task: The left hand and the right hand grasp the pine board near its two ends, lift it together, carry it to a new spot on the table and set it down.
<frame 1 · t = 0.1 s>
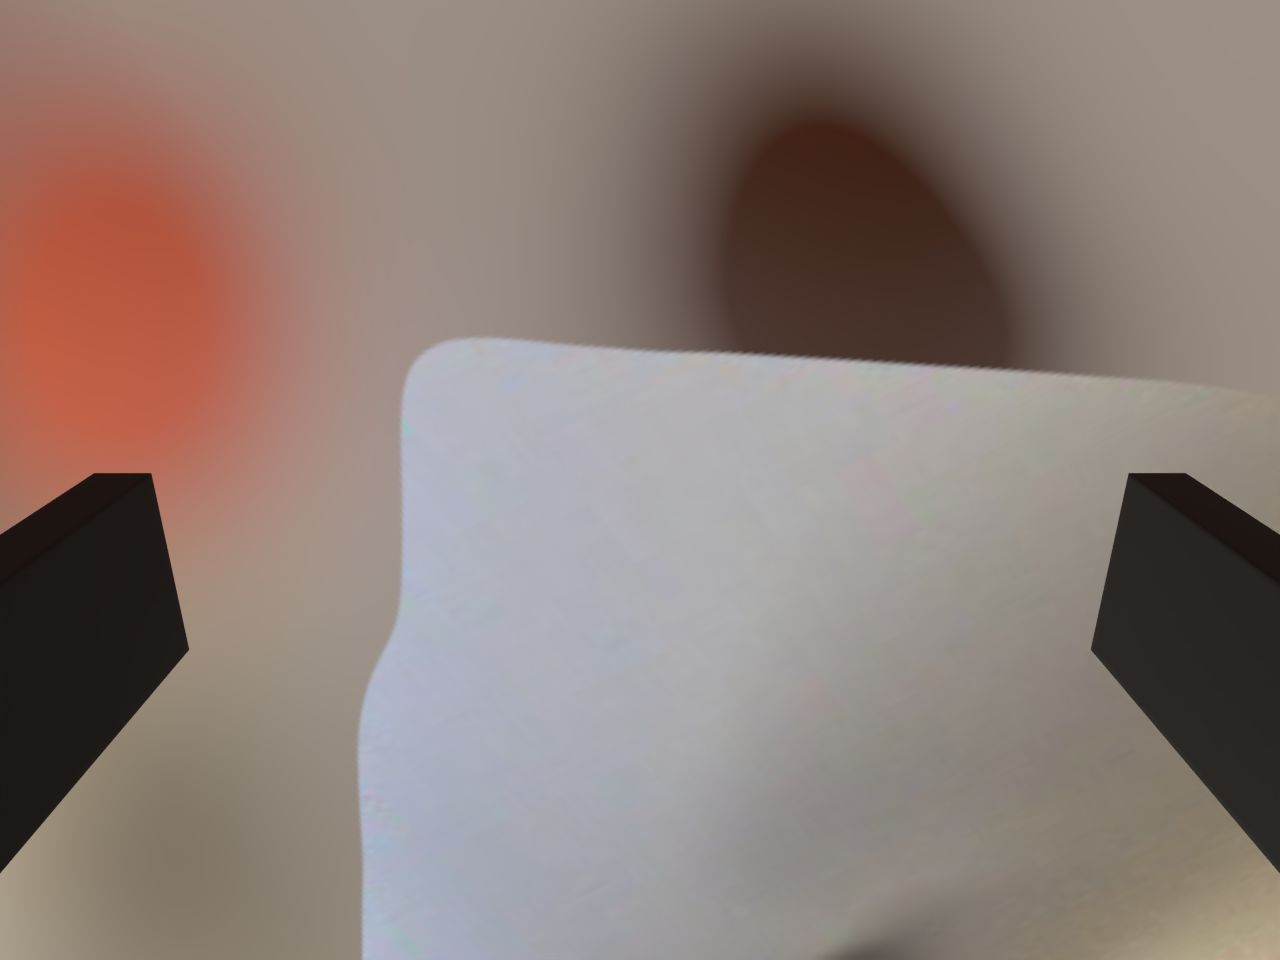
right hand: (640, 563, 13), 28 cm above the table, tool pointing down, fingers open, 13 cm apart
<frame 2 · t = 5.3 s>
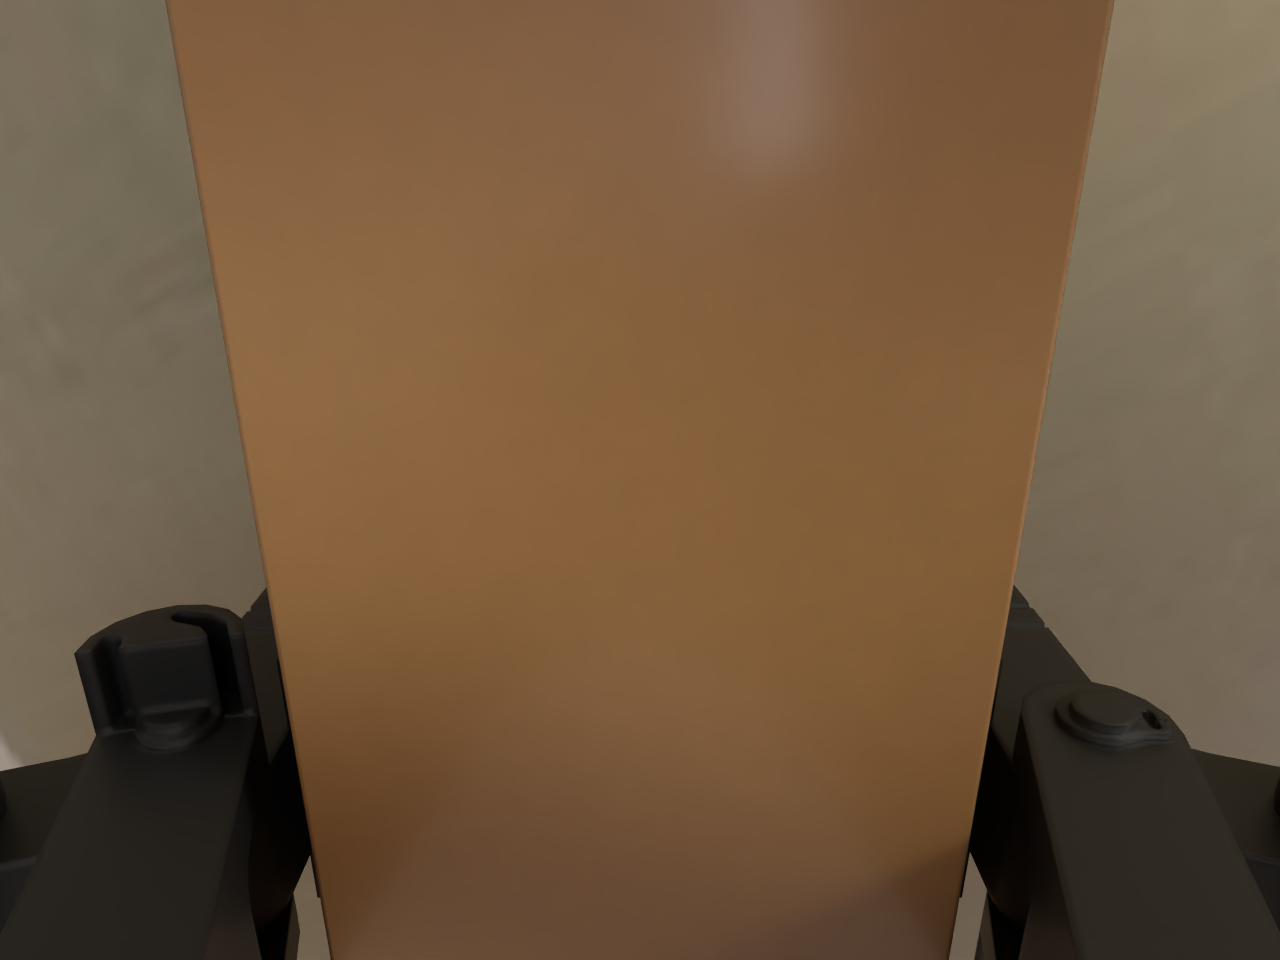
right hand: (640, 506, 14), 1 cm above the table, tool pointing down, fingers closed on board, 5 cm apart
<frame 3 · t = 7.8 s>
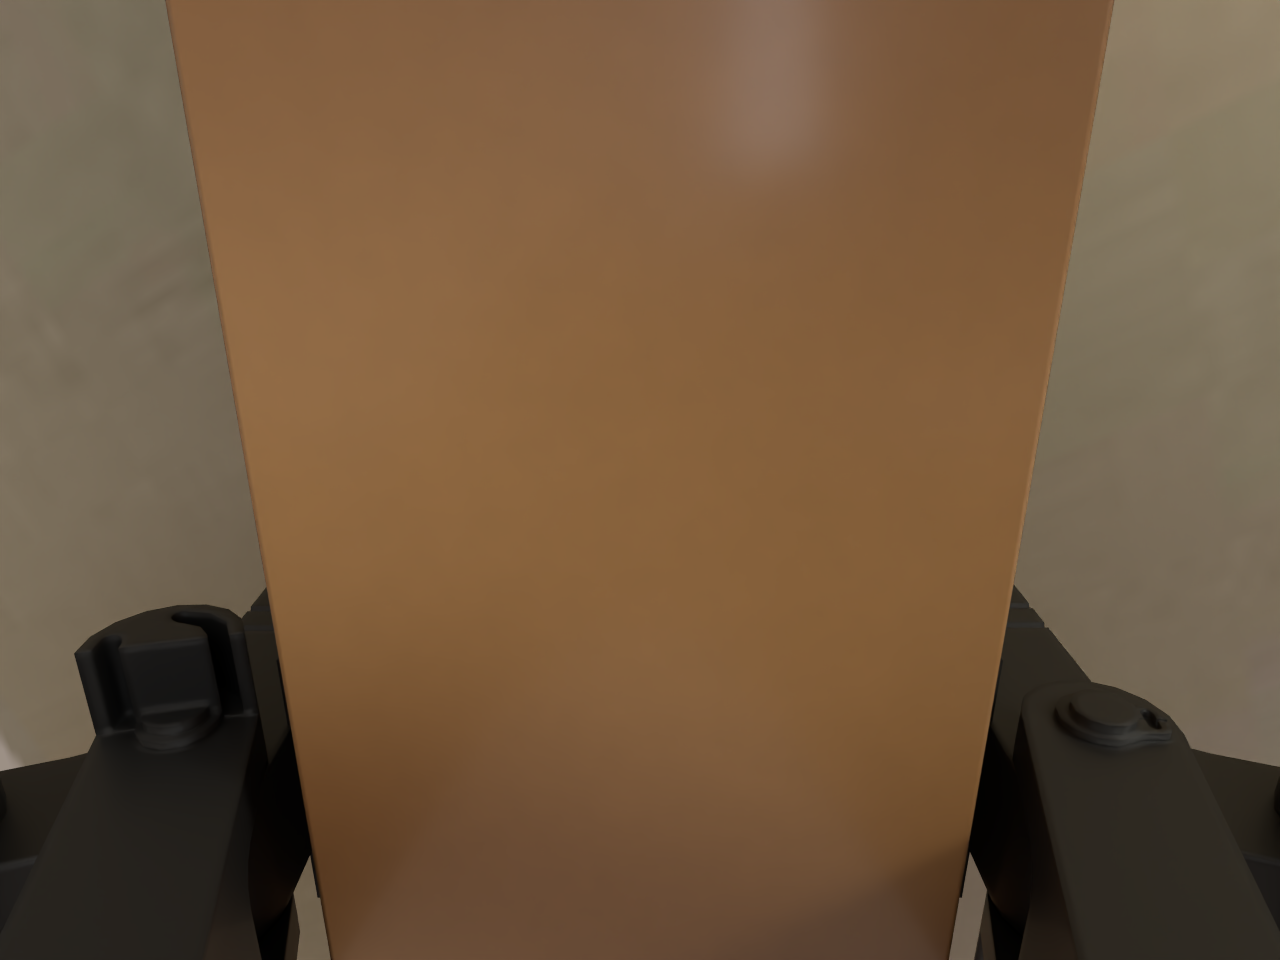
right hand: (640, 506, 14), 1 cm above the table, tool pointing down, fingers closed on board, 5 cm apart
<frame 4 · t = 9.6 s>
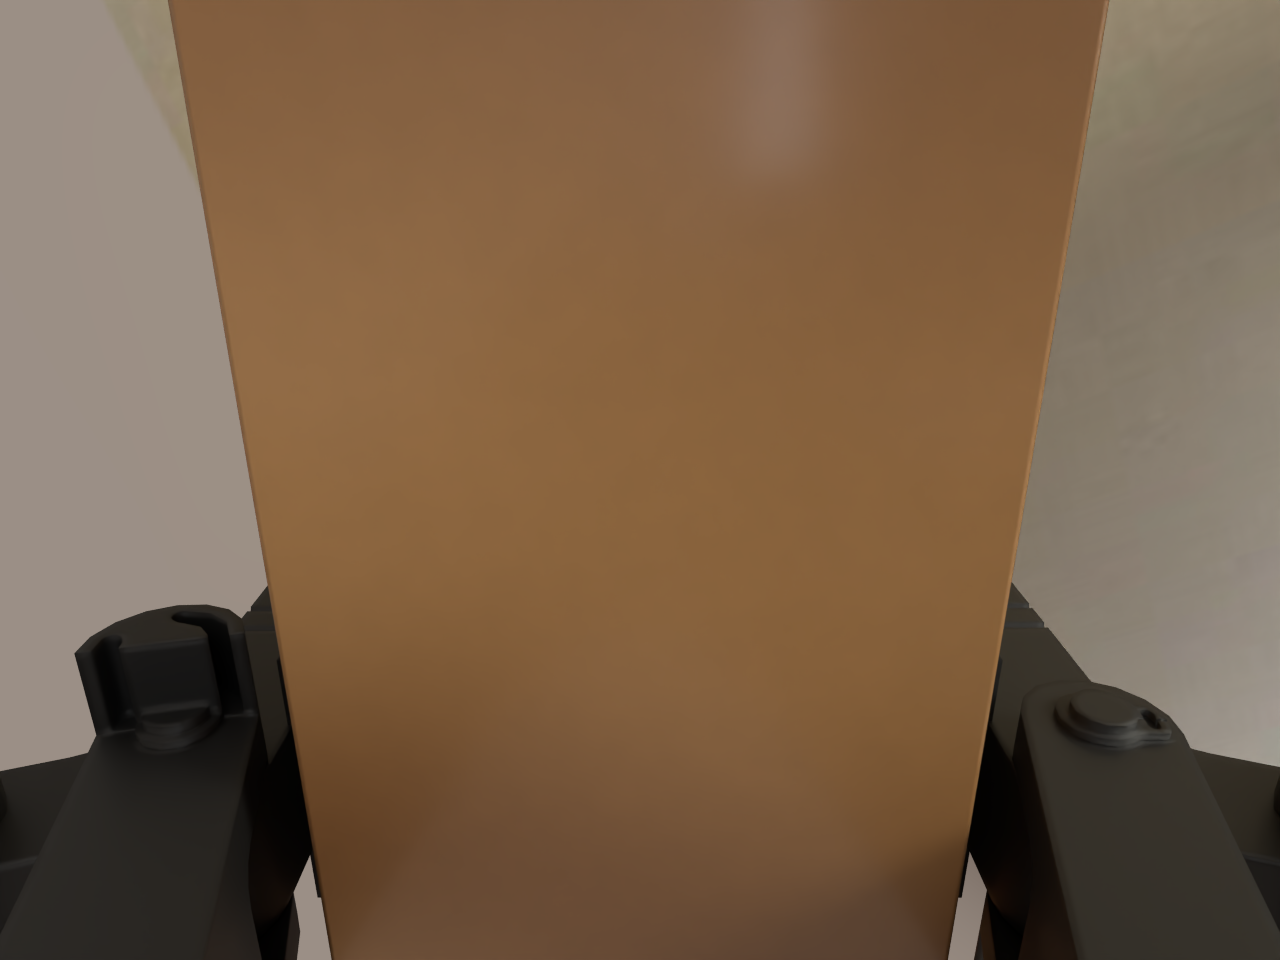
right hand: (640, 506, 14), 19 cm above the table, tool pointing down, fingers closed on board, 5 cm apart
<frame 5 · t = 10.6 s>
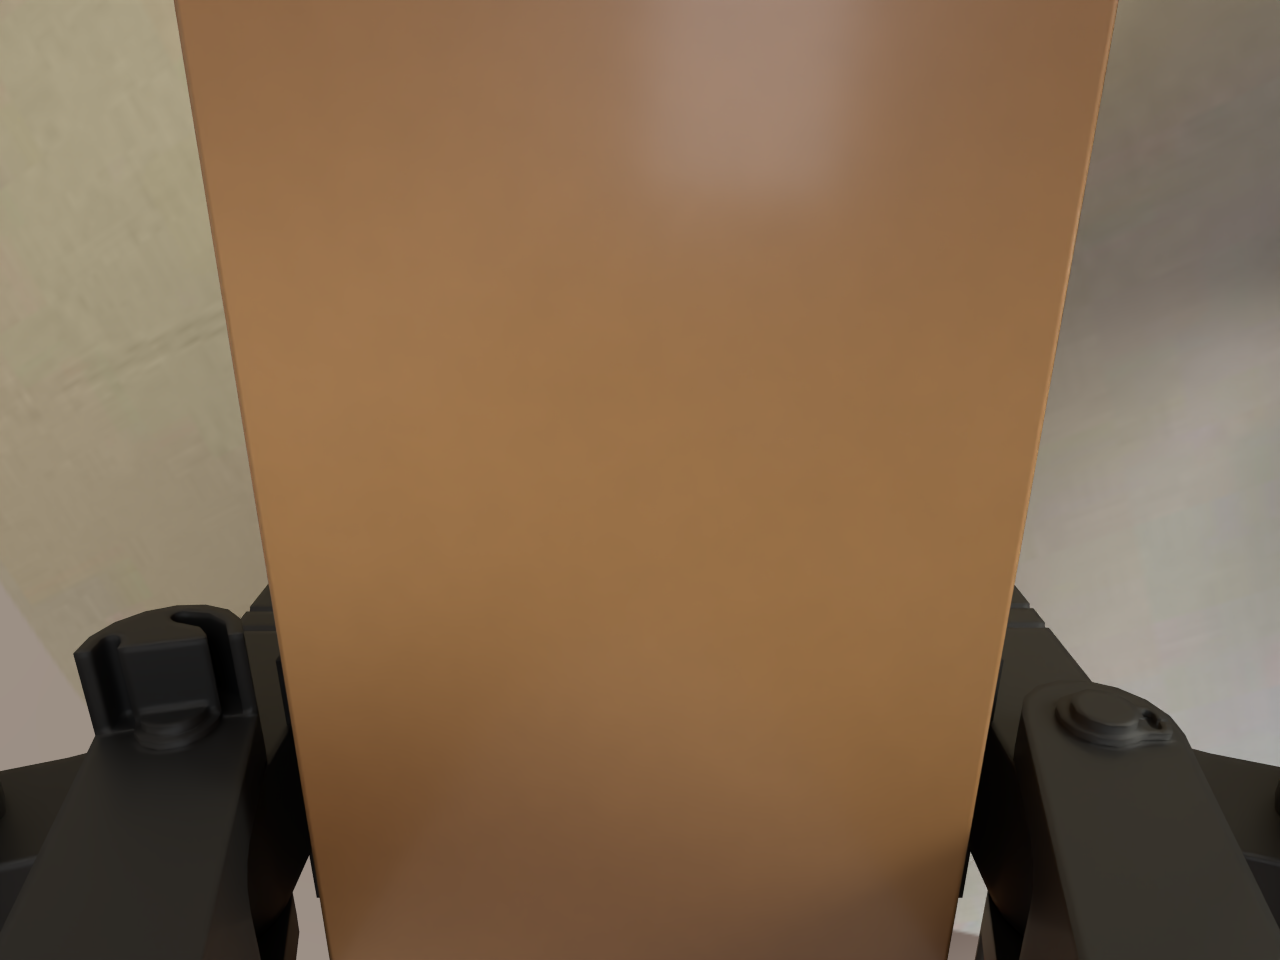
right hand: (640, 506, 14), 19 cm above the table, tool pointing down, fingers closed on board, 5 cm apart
when the left hand's fingers open (2 cm above the table, at t = 13.7 s): board drops 2 cm, on the table.
when the right hand's fingers open (2 cm above the table, at t = 13.8 s): board drops 2 cm, on the table.
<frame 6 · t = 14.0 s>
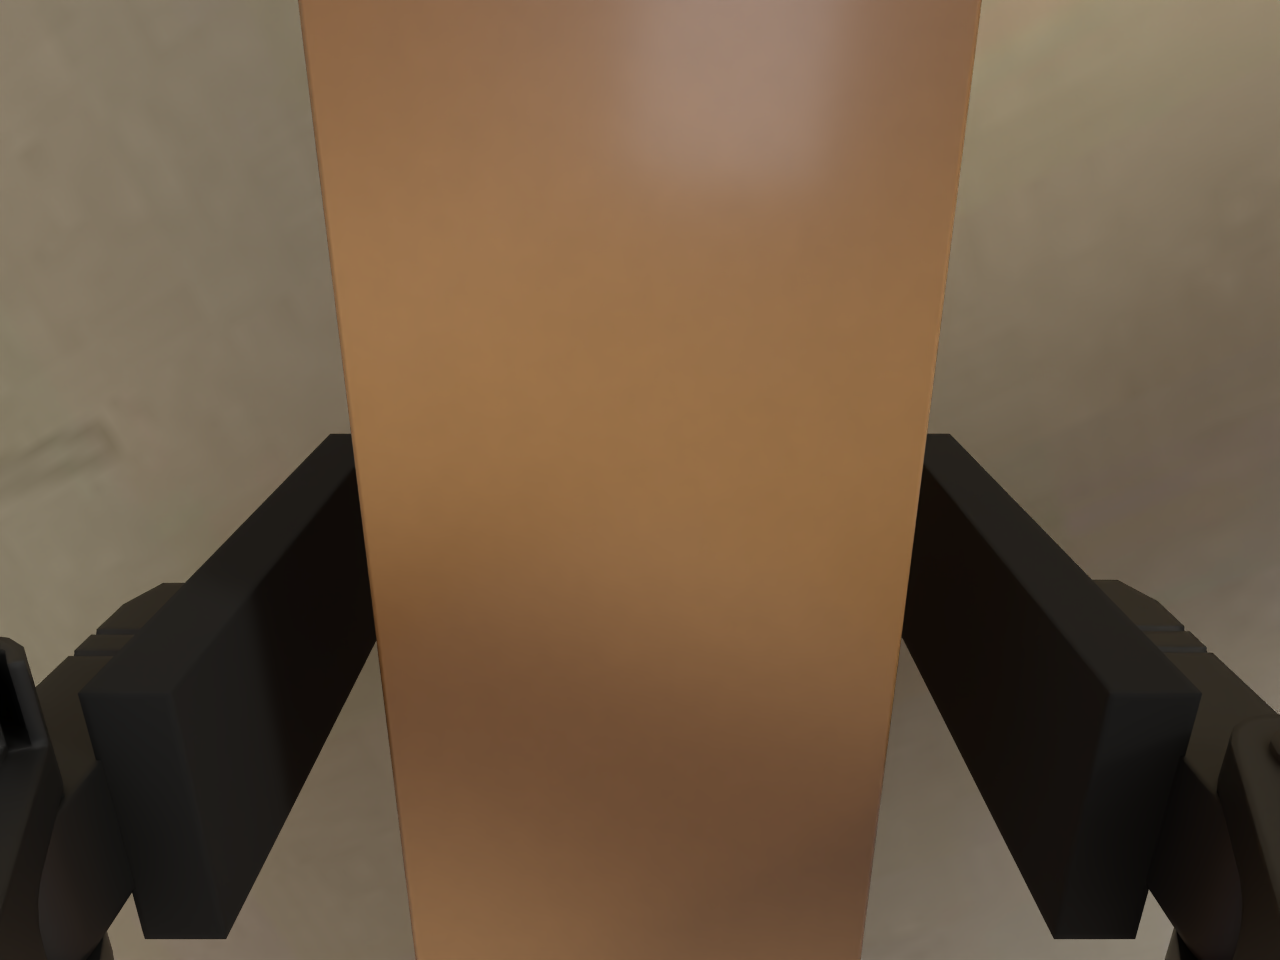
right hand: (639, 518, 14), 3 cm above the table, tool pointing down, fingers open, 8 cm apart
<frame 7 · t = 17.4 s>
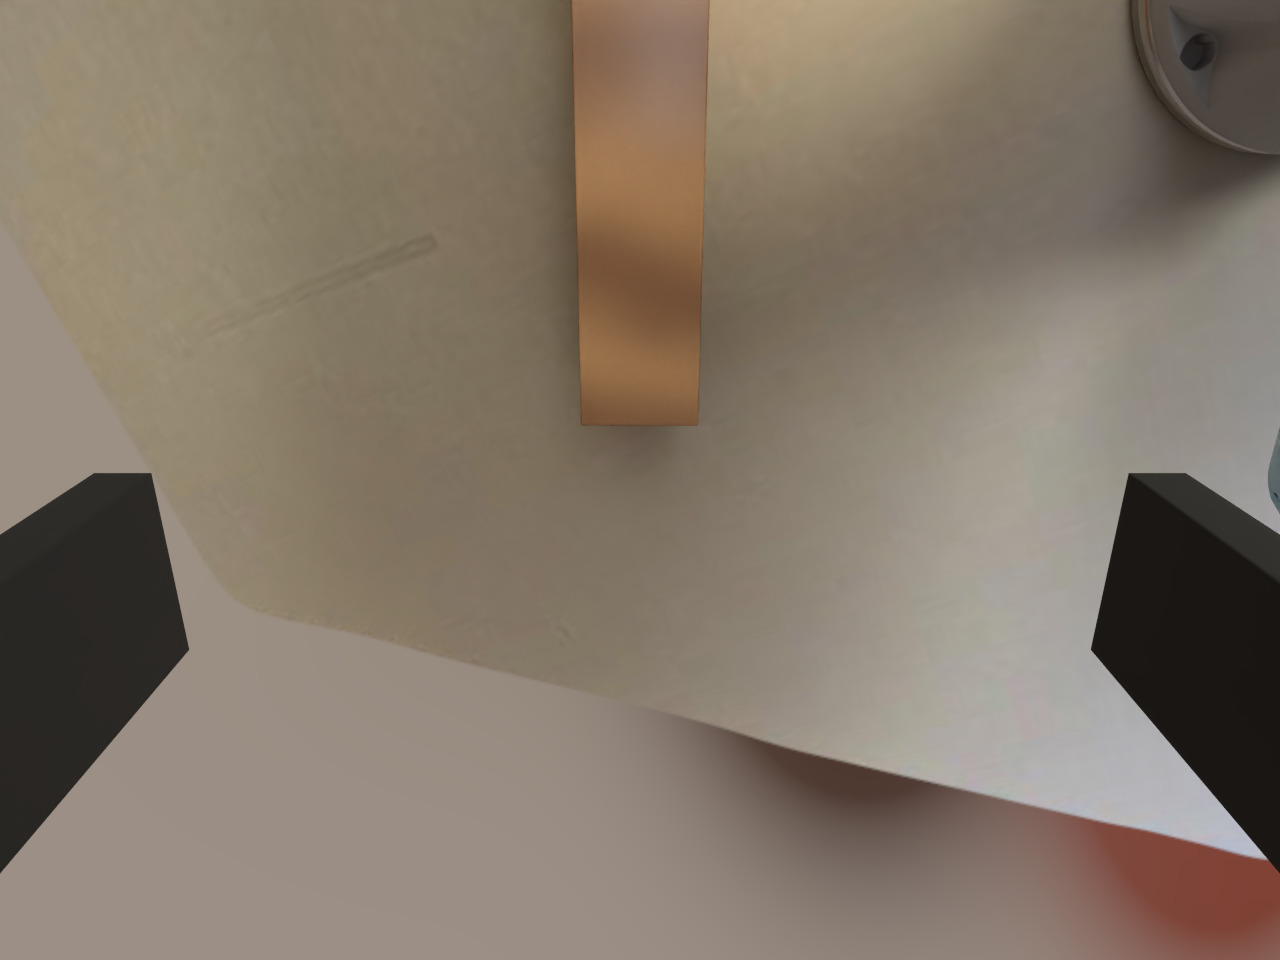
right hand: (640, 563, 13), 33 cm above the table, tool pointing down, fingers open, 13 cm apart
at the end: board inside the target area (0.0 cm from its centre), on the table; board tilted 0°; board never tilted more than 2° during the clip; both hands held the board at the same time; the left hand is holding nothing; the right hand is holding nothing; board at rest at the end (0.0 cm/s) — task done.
